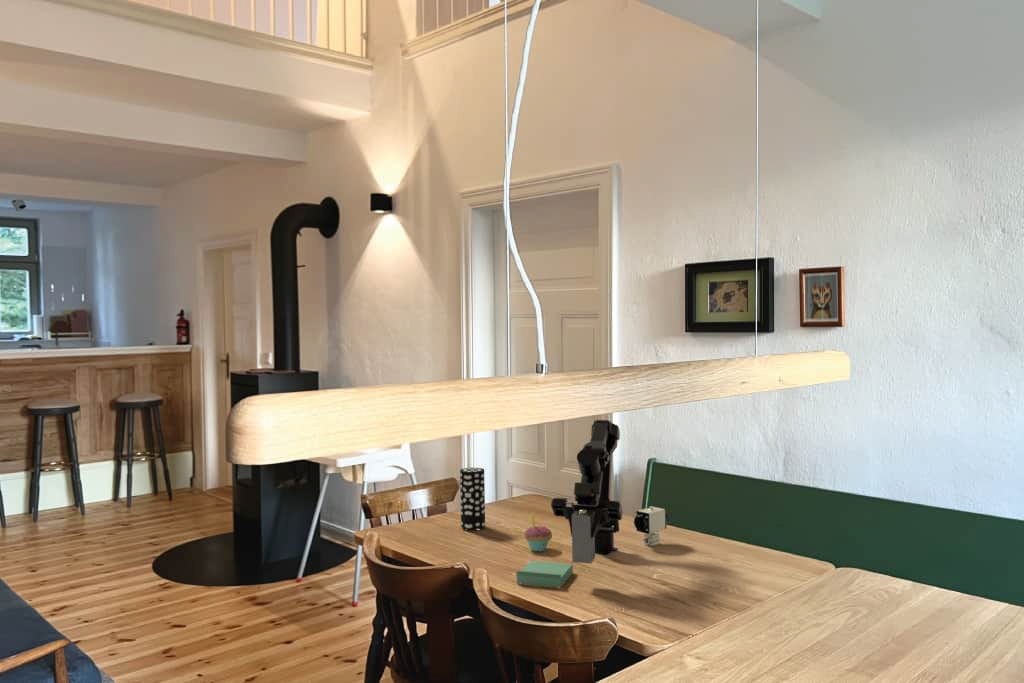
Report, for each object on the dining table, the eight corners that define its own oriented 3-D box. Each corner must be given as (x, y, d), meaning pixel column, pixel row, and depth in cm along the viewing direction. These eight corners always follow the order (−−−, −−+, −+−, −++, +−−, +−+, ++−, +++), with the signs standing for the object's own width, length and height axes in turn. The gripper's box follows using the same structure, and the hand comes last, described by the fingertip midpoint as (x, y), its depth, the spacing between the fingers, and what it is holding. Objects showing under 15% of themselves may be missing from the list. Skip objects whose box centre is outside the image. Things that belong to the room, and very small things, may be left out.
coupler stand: (531, 569, 219) (531, 557, 219) (572, 573, 215) (572, 560, 215) (516, 583, 206) (516, 571, 206) (560, 588, 202) (559, 575, 202)
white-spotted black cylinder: (457, 526, 267) (456, 469, 266) (479, 523, 270) (478, 466, 270) (466, 532, 259) (465, 473, 259) (489, 529, 263) (488, 470, 262)
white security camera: (669, 542, 243) (669, 504, 243) (645, 550, 235) (644, 510, 235) (655, 539, 247) (655, 501, 247) (631, 546, 240) (631, 507, 239)
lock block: (576, 556, 208) (575, 507, 207) (594, 557, 206) (594, 508, 206) (572, 562, 203) (571, 512, 203) (591, 563, 202) (590, 513, 201)
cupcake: (529, 554, 233) (528, 515, 233) (521, 546, 241) (520, 508, 241) (555, 551, 235) (555, 512, 235) (547, 544, 243) (546, 506, 243)
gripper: (552, 468, 211) (541, 518, 201) (619, 471, 205) (612, 523, 195) (559, 490, 218) (550, 540, 208) (625, 494, 213) (618, 545, 202)
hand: (582, 536), depth 203 cm, fingers closed on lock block, 5 cm apart
